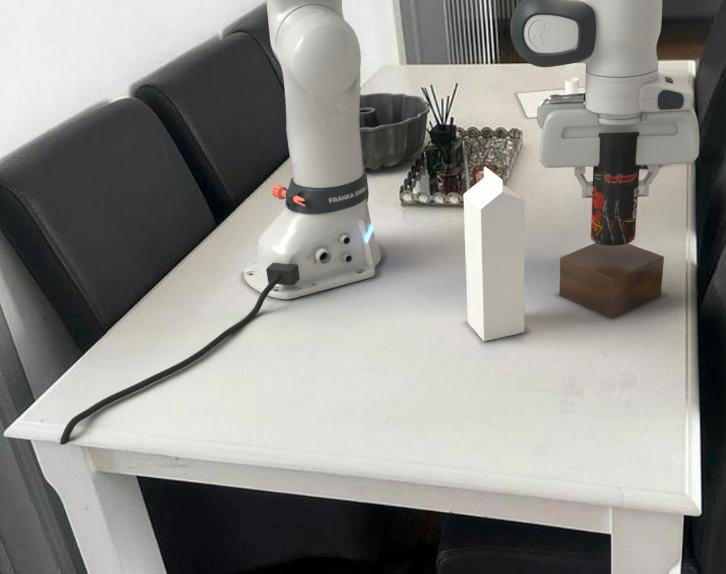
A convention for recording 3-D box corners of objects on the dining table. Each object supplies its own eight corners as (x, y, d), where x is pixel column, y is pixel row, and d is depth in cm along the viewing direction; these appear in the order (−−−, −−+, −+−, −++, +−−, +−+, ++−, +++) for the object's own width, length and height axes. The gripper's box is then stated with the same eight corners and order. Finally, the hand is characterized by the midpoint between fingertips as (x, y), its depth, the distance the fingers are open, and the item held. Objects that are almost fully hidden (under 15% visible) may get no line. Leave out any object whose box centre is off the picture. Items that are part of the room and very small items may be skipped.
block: (611, 318, 133) (613, 278, 130) (559, 295, 140) (560, 257, 137) (660, 295, 137) (664, 256, 134) (607, 274, 144) (609, 236, 141)
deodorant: (635, 245, 131) (642, 135, 123) (590, 245, 132) (594, 136, 124) (634, 228, 136) (641, 121, 127) (590, 228, 137) (594, 122, 129)
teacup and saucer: (593, 101, 218) (594, 83, 216) (557, 104, 218) (558, 86, 216) (586, 91, 225) (587, 73, 223) (551, 94, 226) (552, 76, 224)
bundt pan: (327, 137, 213) (322, 91, 208) (444, 137, 206) (442, 89, 200) (287, 180, 192) (280, 130, 187) (416, 181, 185) (413, 129, 180)
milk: (483, 342, 131) (479, 185, 119) (467, 323, 136) (460, 170, 123) (525, 332, 132) (525, 175, 120) (507, 313, 137) (505, 161, 125)
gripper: (536, 102, 123) (536, 206, 130) (706, 95, 119) (695, 202, 126) (537, 88, 128) (537, 189, 135) (700, 81, 124) (690, 185, 131)
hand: (615, 195), depth 131 cm, fingers closed on deodorant, 6 cm apart
